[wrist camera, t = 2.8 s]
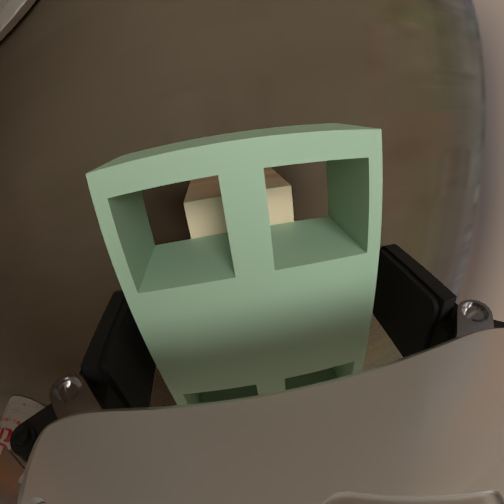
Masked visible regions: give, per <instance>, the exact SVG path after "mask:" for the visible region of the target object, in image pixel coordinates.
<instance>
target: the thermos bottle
mask: <svg viewBox="0 0 504 504" xmlns="http://www.w3.org/2000/svg"><path fill="white" fill-rule="evenodd" d="M43 408H45V406H43V405H41V404H39V403H38V402H36V401H33V400H31V399H29V398H26V397H22V396H12V397H11V398H10V400H9V402H8V404H7V407H6V409H5V411H4V414H3V416H2V419H1V421H0V454H1V453H2V452H3V451H4V450H5V449H6V448H8V449H9V450H10V449H11V446H10V437H11V435H12V432H13V431H14V429H15V428H16V427H17V426H18V425H20V424H21V423H23V422H24V421H26V420H27V419H28V418H30V417H31V416H33V415H34V414H36V413H37V412H39V411H40V410H42V409H43Z"/></svg>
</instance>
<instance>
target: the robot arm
mask: <svg viewBox="0 0 504 504" xmlns="http://www.w3.org/2000/svg"><path fill="white" fill-rule="evenodd" d="M35 1H36V0H0V41H1V40H2V39H3V38H4V37H5V36H6V35H7V34H8V33H9V32H10V31H11V30H12V29H13V28H14V27H15V25H16V24H17V23H18V22H19V21H20V20H21V18H22V17H23V16H24V15H25V14H26V13H27V12H28V10H29V9H30V8H31V6H32V5H33V4H34V3H35ZM455 301H456V296H455V295H454V294H453V293H452V292H451V291H450V290H449V289H448V288H447V287H446V286H444V285H443V284H442V283H441V282H440V281H439V280H438V279H437V278H435V277H434V276H433V275H432V274H431V273H430V272H429V271H427V270H426V269H425V268H424V267H423V266H422V265H420V264H419V263H418V262H417V261H416V260H414V259H413V258H412V257H411V256H410V255H408V254H407V253H406V252H405V251H404V250H402V249H401V248H400V247H399V246H397V245H396V244H392V245H387V246H382V247H381V249H380V251H379V261H378V272H377V281H376V289H375V297H374V305H373V314H374V316H375V317H376V319H377V320H378V321H379V323H380V324H381V326H382V327H383V329H384V330H385V331H386V333H387V334H388V336H389V337H390V338H391V340H392V341H393V343H394V344H395V346H396V347H397V349H398V350H399V351H400V353H401V354H402V356H403V357H404V358H401V359H398V360H395V361H392V362H389V363H386V364H383V365H380V366H377V367H374V368H371V369H367V370H364V371H361V372H357V373H354V374H350V375H347V376H343V377H339V378H336V379H332V380H328V381H324V382H320V383H316V384H312V385H307V386H303V387H298V388H294V389H289V390H284V391H279V392H274V393H269V394H263V395H257V396H251V397H245V398H238V399H231V400H224V401H216V402H208V403H198V404H188V405H175V406H161V407H149V404H150V398H151V391H152V385H153V378H154V372H155V366H156V364H155V362H154V360H153V358H152V356H151V354H150V352H149V350H148V348H147V346H146V344H145V341H144V339H143V337H142V335H141V333H140V331H139V328H138V326H137V324H136V322H135V319H134V317H133V315H132V312H131V310H130V308H129V305H128V303H127V300H126V298H125V295H124V293H123V290H122V291H115V292H114V293H113V295H112V297H111V299H110V301H109V304H108V306H107V308H106V310H105V312H104V314H103V316H102V318H101V320H100V323H99V325H98V327H97V329H96V331H95V334H94V336H93V338H92V340H91V343H90V345H89V347H88V350H87V352H86V354H85V357H84V359H83V362H82V364H81V366H80V367H81V371H80V373H79V374H73V373H71V374H66V375H64V376H62V377H60V378H59V379H58V380H56V382H55V383H54V384H53V385H52V387H51V389H50V394H49V396H50V401H51V404H49V405H48V406H46V407H45V408H43V409H42V410H40V411H39V412H37V413H36V414H34V415H33V416H31V417H30V418H28V419H27V420H26V421H24V422H23V423H21V424H20V425H18V426H17V427H16V428H15V429H14V431H13V432H12V435H11V437H10V446H11V449H10V450H9V449H8V448H6V449H5V450H4V451H3V452H2V453H1V454H0V504H504V322H501V321H496V320H493V315H492V312H491V310H490V308H489V307H488V306H487V305H485V304H484V303H482V302H480V301H477V300H472V299H469V300H464V301H462V302H460V304H459V305H457V304H456V303H455Z"/></svg>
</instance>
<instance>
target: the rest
mask: <svg viewBox="0 0 504 504" xmlns="http://www.w3.org/2000/svg"><path fill="white" fill-rule="evenodd" d="M264 176H265V185H266V194H267V202H268V211H269V220H270V225H275V224H281V223H288V222H294V214H293V202H292V190H291V185H290V184H289V183H288V182H287V181H285V180H284V179H283V178H282V177H281V176H280V175H279V174H278V173H276V172H275V171H274V170H273V169H272V168H271V167H267V168H264ZM183 204H184V208H185V213H186V218H187V222H188V227H189V231H190V236H191V239H193V238H199V237H204V236H210V235H216V234H222V233H227V232H228V231H227V226H226V220H225V214H224V208H223V202H222V196H221V190H220V184H219V178H218V175H215V176H209V177H204V178H198V179H193V180H191V181H190V184H189V187H188V190H187V193H186V196H185V199H184V203H183Z"/></svg>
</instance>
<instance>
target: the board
mask: <svg viewBox="0 0 504 504" xmlns="http://www.w3.org/2000/svg"><path fill="white" fill-rule="evenodd" d="M319 161H326V167H327V185H328V211H329V216H326V217H320V218H313V219H307V220H300V221H294V222H288V223H281V224H275V225H270V220H269V211H268V202H267V194H266V185H265V176H264V168H267V167H275V166H283V165H291V164H300V163H309V162H319ZM215 175H218V178H219V184H220V190H221V196H222V202H223V208H224V214H225V220H226V226H227V231H228V232H227V233H222V234H216V235H210V236H204V237H199V238H193V239H188V240H182V241H177V242H171V243H166V244H160V245H155V242H154V238H153V235H152V231H151V227H150V224H149V220H148V216H147V212H146V208H145V204H144V200H143V196H142V191H141V190H145V189H149V188H154V187H158V186H163V185H168V184H173V183H178V182H183V181H188V180H193V179H198V178H204V177H209V176H215ZM86 178H87V182H88V186H89V189H90V193H91V197H92V201H93V204H94V208H95V211H96V215H97V218H98V221H99V225H100V228H101V231H102V234H103V237H104V241H105V244H106V247H107V250H108V252H109V255H110V258H111V261H112V264H113V267H114V269H115V272H116V275H117V277H118V280H119V283H120V285H121V288H122V290H123V293H124V295H125V298H126V300H127V303H128V305H129V308H130V310H131V312H132V315H133V317H134V319H135V322H136V324H137V326H138V328H139V331H140V333H141V335H142V337H143V339H144V341H145V344H146V346H147V348H148V350H149V352H150V354H151V356H152V358H153V360H154V362H155V364H156V366H157V368H158V370H159V372H160V374H161V376H162V378H163V380H164V381H165V383H166V385H167V387H168V389H169V391H170V393H171V394H172V396H173V398H174V400H175V402H176V403H177V405H188V404H198V403H208V402H216V401H224V400H231V399H238V398H245V397H251V396H257V395H263V394H269V393H274V392H279V391H284V390H289V389H294V388H298V387H303V386H307V385H312V384H316V383H320V382H324V381H328V380H332V379H336V378H339V377H343V376H347V375H350V374H354V373H357V372H361V371H362V368H363V363H364V358H365V353H366V348H367V342H368V337H369V331H370V325H371V318H372V312H373V305H374V297H375V289H376V281H377V272H378V261H379V250H380V236H381V218H382V134H381V129H377V128H370V127H363V126H355V125H347V124H338V123H326V124H309V125H296V126H285V127H275V128H265V129H257V130H249V131H242V132H234V133H228V134H221V135H215V136H209V137H204V138H198V139H193V140H187V141H182V142H177V143H173V144H168V145H163V146H159V147H155V148H150V149H146V150H142V151H138V152H134V153H130V154H126V155H123V156H120V157H118V158H116V159H114V160H112V161H110V162H108V163H106V164H104V165H102V166H100V167H98V168H96V169H94V170H92V171H90V172H88V173H86Z"/></svg>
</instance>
